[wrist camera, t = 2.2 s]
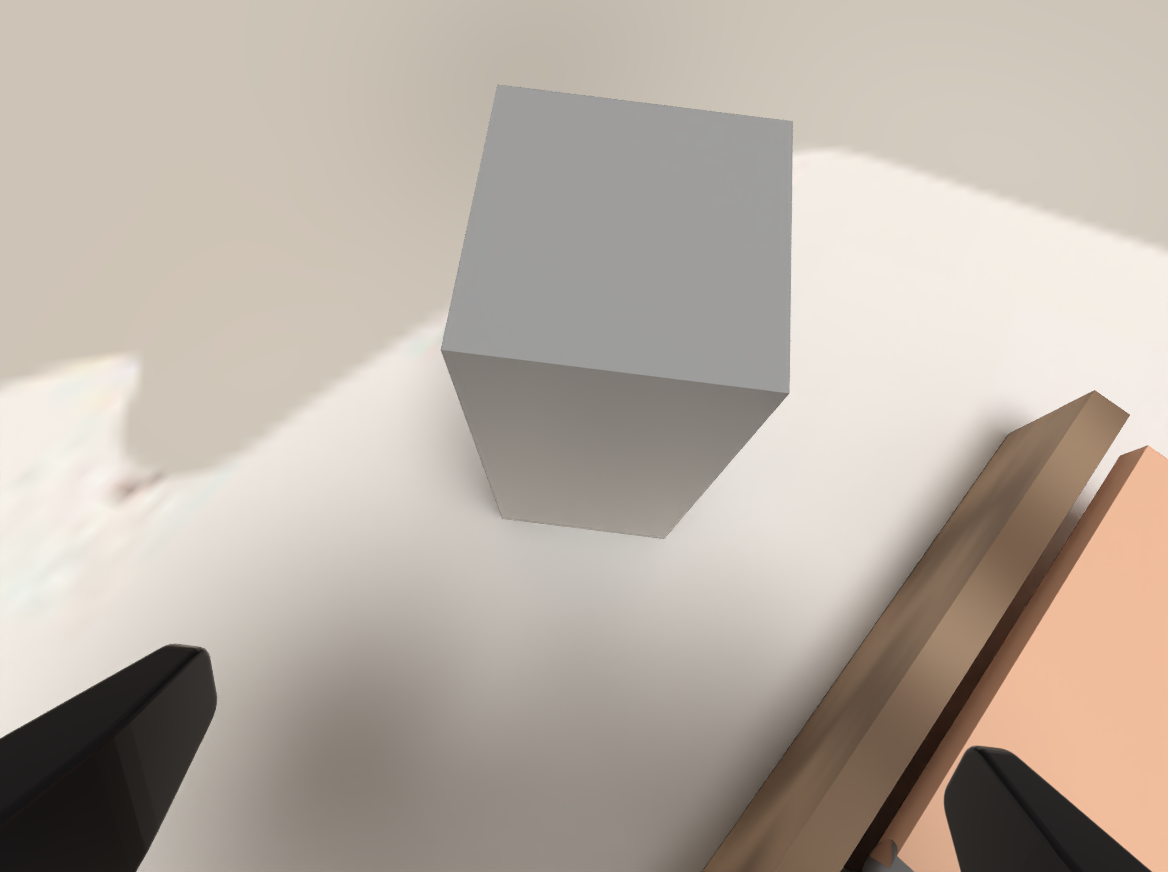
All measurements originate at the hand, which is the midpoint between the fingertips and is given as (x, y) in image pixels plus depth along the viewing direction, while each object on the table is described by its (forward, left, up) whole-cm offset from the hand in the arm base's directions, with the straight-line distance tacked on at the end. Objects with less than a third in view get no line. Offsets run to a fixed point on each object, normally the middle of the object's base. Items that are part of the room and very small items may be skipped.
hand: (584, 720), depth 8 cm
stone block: (+5, +6, -13) cm, 15 cm away
